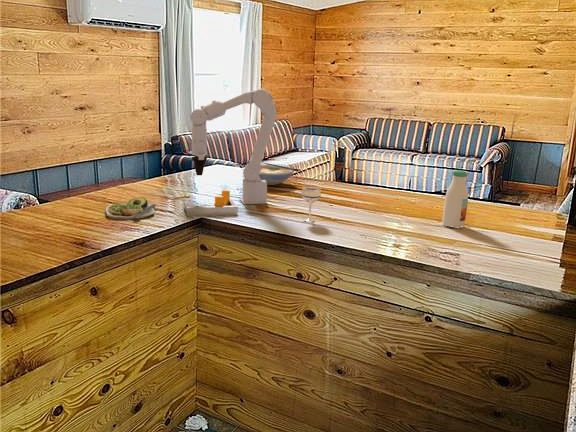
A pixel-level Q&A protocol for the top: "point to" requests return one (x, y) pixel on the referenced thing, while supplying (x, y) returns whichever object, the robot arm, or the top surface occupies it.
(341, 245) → the top surface
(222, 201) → the pipe clamp
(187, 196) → the brass spoon
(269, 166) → the ramen bowl
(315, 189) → the wineglass
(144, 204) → the salad plate
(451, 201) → the milk bottle
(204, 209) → the hitch bracket
